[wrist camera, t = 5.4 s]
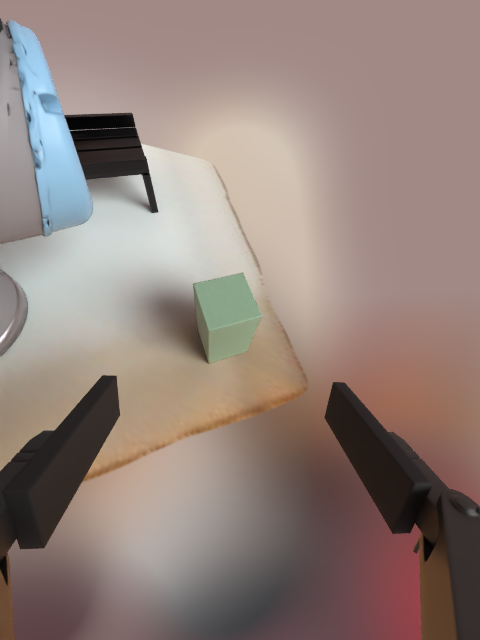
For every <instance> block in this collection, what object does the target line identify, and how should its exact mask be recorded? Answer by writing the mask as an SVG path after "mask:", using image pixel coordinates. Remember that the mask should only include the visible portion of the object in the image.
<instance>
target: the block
mask: <svg viewBox="0 0 480 640" xmlns="http://www.w3.org/2000/svg"><path fill="white" fill-rule="evenodd" d="M193 288H194V298H195V308H196V318H197V328H198V331H199V335H200V338H201V341H202V344H203V348H204V351H205V354H206V357H207V361H208V363H212V362H215V361H219V360H222V359H225V358H228V357H231V356H235V355H238V354H241V353H244V352H246V351H247V349H248V347H249V344H250V342H251V340H252V338H253V335H254V333H255V331H256V329H257V326H258V324H259V322H260V319H261V317H262V315H261V313H260V310H259V308H258V306H257V303H256V301H255V299H254V297H253V294H252V292H251V290H250V287H249V285H248V283H247V281H246V278H245V276H244V274H243V273H240V274H235V275H231V276H226V277H222V278H217V279H213V280H208V281H204V282H199V283H195V284H193Z"/></svg>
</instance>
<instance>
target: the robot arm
mask: <svg viewBox="0 0 480 640" xmlns="http://www.w3.org/2000/svg"><path fill="white" fill-rule="evenodd" d="M6 24H7V25H5V24H3V22H2V21H1V19H0V244H3V243H7V242H12V241H16V240H21V239H25V238H30V237H34V236H39V235H43V236H45V237H46V236H49V235H51V234H52V232H55V231H58V230H62V229H66V228H70V227H73V226H77V225H80V224H83V223H85V222H86V221H87V220H88V219H89V218H90V216H91V215H92V211H93V203H92V199H91V195H90V192H89V189H88V185H87V182H86V179H85V176H84V173H83V170H82V167H81V164H80V161H79V158H78V155H77V152H76V149H75V146H74V142H73V139H72V136H71V134H70V131H69V128H68V125H67V122H66V119H65V116H64V114H63V111H62V107H61V104H60V101H59V98H58V95H57V93H56V90H55V86H54V83H53V80H52V77H51V74H50V71H49V68H48V65H47V62H46V59H45V56H44V54H43V51H42V48H41V45H40V43H39V40H38V38H37V36H36V35H35V34H34V32H33V31H31V30H30V29H28V28H26V27H23V26H20V25H19V24H18V23H16V22H15V21H7V23H6ZM27 312H28V303H27V298H26V295H25V293H24V291H23V289H22V288H21V287H20V285H19V284H18V283H17V282H15V281H14V280H13V279H12V278H11V277H9V276H8V275H7V274H6V273H4V272H3V271H1V270H0V357H1V356H2V355H3V354H4V353H5V352H6V351H7V350H8V349H9V348H10V346H11V345H12V344H13V343H14V341H15V340H16V339H17V337H18V336H19V334H20V332H21V330H22V328H23V326H24V324H25V321H26V317H27ZM119 416H120V410H119V399H118V388H117V376H106V375H102V377H101V378H100V379H99V380H98V381H97V382H96V383H95V385H94V386H93V387H92V388H91V389H90V390H89V392H88V393H87V394H86V395H85V396H84V397H83V398H82V400H81V401H80V402H79V403H78V404H77V405H76V407H75V408H74V409H73V410H72V411H71V412H70V414H69V415H68V416H67V417H66V418H65V419H64V420H63V422H62V423H61V424H60V425H59V426H58V427H57V429H56V430H55V431H43V432H41V433H40V434H38V435H37V436H35V437H34V438H32V439H31V440H30V441H29V442H28V443H27V444H26V445H25V446H24V447H23V448H22V449H21V450H20V452H19V453H17V454H16V455H15V456H14V457H13V459H12V460H11V462H9V463H8V464H7V465H6V466H5V467H4V468H3V469H2V470H1V471H0V640H15V638H14V624H13V609H12V595H11V581H10V566H9V556H8V553H7V552H8V550H9V549H10V547H11V546H12V544H13V543H14V542H15V540H16V539H17V540H18V544H19V547H20V549H34V548H35V549H37V548H45V546H46V544H47V542H48V540H49V539H50V537H51V535H52V533H53V532H54V530H55V528H56V526H57V525H58V523H59V521H60V519H61V518H62V516H63V514H64V512H65V511H66V509H67V507H68V505H69V504H70V502H71V500H72V498H73V497H74V495H75V493H76V491H77V490H78V488H79V486H80V484H81V483H82V481H83V479H84V477H85V476H86V474H87V472H88V470H89V469H90V467H91V465H92V463H93V461H94V460H95V458H96V456H97V454H98V453H99V451H100V449H101V447H102V446H103V444H104V442H105V440H106V439H107V437H108V435H109V433H110V432H111V430H112V428H113V426H114V425H115V423H116V421H117V419H118V418H119ZM325 419H326V421H327V423H328V424H329V426H330V428H331V430H332V431H333V433H334V435H335V436H336V438H337V440H338V441H339V443H340V445H341V447H342V448H343V450H344V452H345V453H346V455H347V457H348V458H349V460H350V462H351V463H352V465H353V467H354V469H355V470H356V472H357V474H358V475H359V477H360V479H361V481H362V482H363V484H364V486H365V487H366V489H367V491H368V492H369V494H370V496H371V497H372V499H373V501H374V503H375V504H376V506H377V508H378V509H379V511H380V513H381V514H382V516H383V518H384V519H385V521H386V523H387V525H388V526H389V528H390V530H391V531H392V533H393V534H397V533H399V534H400V533H410V532H411V530H412V528H413V526H414V524H415V523H416V525H417V526H418V528H419V529H420V530H421V532H422V533H421V535H420V537H419V539H418V541H417V543H416V545H415V548H414V552H415V553H417V552H418V549H420V597H421V598H420V599H421V600H420V602H421V640H480V507H479V506H478V504H476V503H475V502H474V501H473V500H472V499H470V498H469V497H467V496H466V495H464V494H463V493H461V492H458V491H456V490H453V489H449V488H448V487H447V486H446V485H445V484H444V483H443V482H442V481H441V480H440V479H439V477H438V476H437V475H436V474H435V473H434V472H433V471H432V470H431V469H430V468H429V467H428V466H427V465H426V463H425V462H424V461H423V460H422V459H420V457H419V456H418V455H417V454H416V453H415V451H413V449H412V448H411V447H410V446H409V445H408V444H407V443H406V442H405V441H404V440H403V439H402V438H400V437H399V436H397V435H396V434H395V433H394V432H387V431H386V429H385V428H384V427H383V426H382V425H381V424H380V423H379V422H378V420H377V419H376V418H375V417H374V416H373V415H372V413H371V412H370V411H369V410H368V409H367V408H366V407H365V405H364V404H363V403H362V402H361V401H360V400H359V399H358V397H357V396H356V395H355V394H354V393H353V392H352V391H351V389H350V388H349V387H348V386H347V385H346V384H345V383H342V382H341V383H340V382H333V385H332V389H331V393H330V397H329V401H328V406H327V410H326V414H325Z"/></svg>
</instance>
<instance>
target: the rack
mask: <svg viewBox="0 0 480 640" xmlns="http://www.w3.org/2000/svg"><path fill="white" fill-rule="evenodd" d="M64 116H65V119H66V122H67V125H68V128H69V130H77V131H70V134H71V136H72V139H73V142H74V146H75V149H76V152H77V155H78V158H79V161H80V164H81V167H82V170H83V173H84V176H85V179H86V180H87V179H97V178H108V177H118V176H128V175H138V174H141V175H142V176H143V180H144V184H145V187H146V191H147V195H148V199H149V203H150V207H151V211H152V213H156V212H158V209H157V204H156V200H155V195H154V191H153V186H152V182H151V177H150V174H149V168H148V163H147V159H146V156H144V153H143V149H142V146H141V143H140V140H139V137H138V134H137V130H136V128H125V127H135V122H134V118H133V114H132V113H112V114H85V115H84V114H83V115H64ZM105 128H117V129H105ZM85 129H97V130H85Z"/></svg>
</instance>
